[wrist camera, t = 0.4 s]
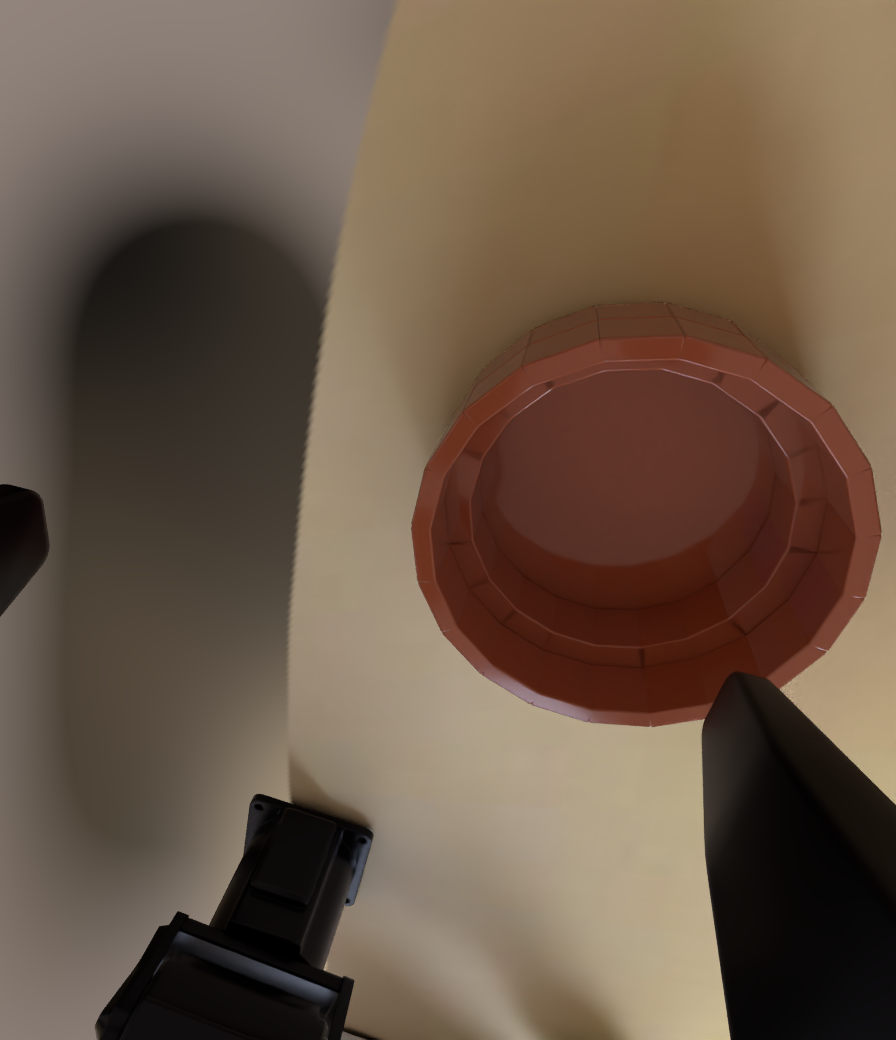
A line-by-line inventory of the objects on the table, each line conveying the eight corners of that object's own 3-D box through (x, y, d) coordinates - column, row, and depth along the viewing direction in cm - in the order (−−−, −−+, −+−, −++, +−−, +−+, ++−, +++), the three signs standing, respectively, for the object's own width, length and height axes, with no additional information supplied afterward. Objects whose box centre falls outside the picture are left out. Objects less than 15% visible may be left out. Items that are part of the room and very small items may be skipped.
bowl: (716, 668, 25) (744, 772, 21) (413, 575, 26) (378, 657, 21) (898, 364, 19) (991, 421, 15) (495, 250, 20) (471, 274, 15)
